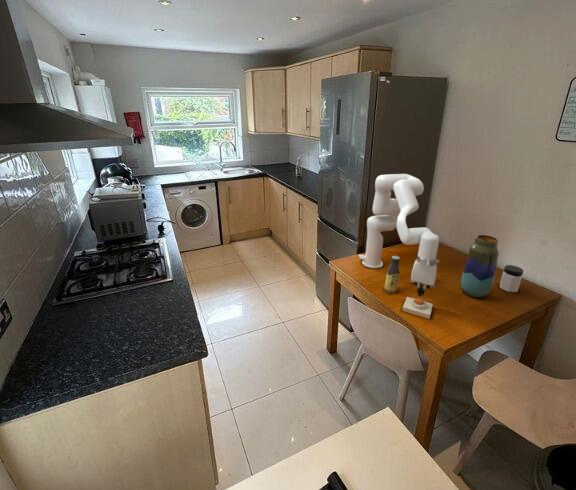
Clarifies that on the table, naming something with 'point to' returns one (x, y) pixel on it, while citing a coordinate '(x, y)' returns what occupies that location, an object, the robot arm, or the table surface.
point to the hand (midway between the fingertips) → (420, 294)
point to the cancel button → (418, 301)
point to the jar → (511, 278)
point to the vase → (480, 266)
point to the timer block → (417, 308)
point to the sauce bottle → (392, 275)
